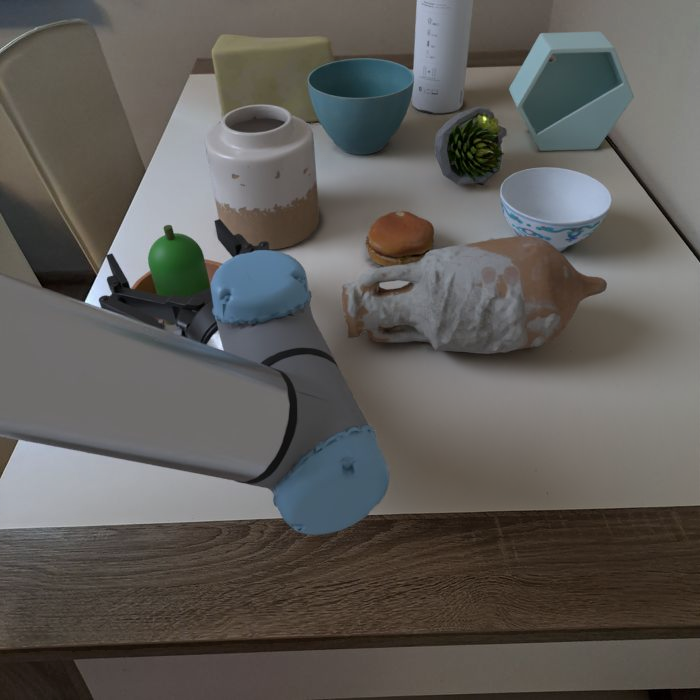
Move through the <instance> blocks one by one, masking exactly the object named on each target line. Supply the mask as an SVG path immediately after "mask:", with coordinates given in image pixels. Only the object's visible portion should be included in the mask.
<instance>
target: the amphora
mask: <svg viewBox="0 0 700 700" xmlns="http://www.w3.org/2000/svg"><path fill="white" fill-rule="evenodd" d="M396 281H400V282H408V283H407V284H405V285H403V286H401V287H396V288H395V287H394V288H383V287H381V286H380V284H381V283H388V282H396ZM607 287H608V282H607V281H606V280H605V279H604V278H602V277H599V276H588V275H586V274H583V273H581V272H580V271H578V270H577V269H576V268H575V267H574V266H573V264H572V263H571V262H570V261H569V260H568V259H567V257H566V256H565V255H563V253H562V252H561V251H560V252H559V251H558V250H557V249H556V248H555V247H554V246H552V245H551V244H550V243H548V242H546V241H545V240H543V239H540V238H537V237H531V236H520V237H519V236H509V237H499V238H493V237H489V238H488V239H487V240H482V241H476V242H470V243H465V244H457V245H451V246H445V247H441V248H434V249H431V250H430V251H429V252H427V253H426V254H425V256H424V257H423V258H422V259H421V260H420V261H418V262H414V263H409V264H404V265H393V266H387V267H384V266H382V267H372V268H369V269H368V270H366V271H365V272H363V273H362V274H361V275H360V277H359V279H358V280H356V281H354V282H351V283H344V284H343V285H342V287H341V288H342V293H341V302H342V309H343V310H342V311H343V313H344V319H345V321H344V322H345V325H346V327H347V338H348V339H358V338H360V336H361V334H362V333H364V332H366V333H367V334H368V336H369V337H370V339H371V340H372V341H373V342H376V343H410V342H420V343H422V342H423V343H428V344H430V345H431V346H432V348H433V349H434V350H435V351H436V352H440V351H444V352H457V353H460V352H461V353H462V352H463V353H471V354H487V355H488V354H498V353H509V352H512V351H515V350H522V349H528V348H529V349H530V348H534V347H538V348H539V347H540V346H542V345H545V344H547V343H550V342H551V341H553V340H555V339H556V338H557V337H558V336H559V335H560V334H561V333H562V332H563V331H564V330H565V328H566V327H567V325H568V324H569V322H570V321H571V320H572V318H573V317H574V314H575V312H576V311H577V309H578V307H579V305H580V303H581V302H582V301H583V300H584V299H586V298H589V297H592V296H597V295H599V294H601V293H604V292H606V290H607ZM390 325H392V326H390ZM393 325H394V326H393Z"/></svg>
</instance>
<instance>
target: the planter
mask: <svg viewBox="0 0 700 700" xmlns="http://www.w3.org/2000/svg"><path fill="white" fill-rule="evenodd" d="M617 52H618V51H617V49H616V48H615V46H614V45H613V44H612V42H611V41H610V40H609V39H608V38H607V37H606V35H605V34H604V33H603V32H602V31H598V30H597V31H568V32H564V31H563V32H541V33H539V35H538V36H537V38H536V40H535V42H534V44H533V45H532V47H531V49H530V50H529V52H528V54H527V56H526V57H525V60H524V62H523V63H522V65H521V67H520V69H518V72H517V74H516V76H515V77H514V79H513V81H512V83H511V85H510V86H509V88H508V91H509V93H510V95H511V97H512V100H513V102H514V104H515V107H516V109H517V111H518V112H519V114H520V116H521V118H522V120H523V122H524V125H526V127H527V129H528V132H529V133H530V135H531V137H532V139H533V141H534V142H535V145H536V146H537V148H538V150H539V151H540V152H547V151H548V152H549V151H550V152H551V151H586V150H589V151H590V150H597V149H599V148H600V146H601V145H602V143H603V142H604V141H605V138H607V136H608V134H609V133H610V132H611V130H612V129H613V127H614V126H615V125H616V124H617V122H618V121H619V120H620V118H621V117H622V115H623V114H624V112H625V111H626V109H627V108H628V106H629V105H630V103H631V102H632V100H633V99H634V98H635V96H634V93H633V90H632V87H631V85H630V82H629V79H628V78H627V75H626V73H625V70H624V67H623V65H622V62H621V60H620V58H619V55H618V53H617ZM552 56H555V59H554V60H552V61H550V59H551V57H552Z"/></svg>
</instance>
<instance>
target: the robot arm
mask: <svg viewBox="0 0 700 700" xmlns="http://www.w3.org/2000/svg"><path fill="white" fill-rule="evenodd" d="M214 226H215V231H216V236H217V240H218V241H219V242H220V244H221V245H222V246H223V247H224V249H225V250H226V251H227V252H228V254H229V255H230V256H231V257H230V258H229V259H227V260H226V261H224V262H223V263H222V265H221V266H220V267H219V268H218V269H217V271H216V272H215V274H214V276H213V278H212V281H211V287H210V288H207V289H206V290H204V291H202V292H197V293H193V294H190V295H188V297H184V296H179V295H174V294H173V295H171V296H170V297H168V296H163V295H158V294H154V293H149V292H144V291H139V290H135V289H131V288H132V287H131V285H130V282H129V280H128V279H127V277H126V275H125V273H124V272H123V270H122V268H121V267H120V265H119V262H118V261H117V259H116V257H115V255H114V254H113V253H112V252H111V253H108V254H106V255H105V257H106V260H107V263H108V265H109V268H110V270H111V274H112V275H110V276H107V277H106V282H107V285H108V289H109V291H110V292H111V294H110V295H105V294H104V295H101V296H100V297H99V298H98V302H99V305H100V306H97V305H94V304H91V303H89V302H86V301H82V300H80V299H77V298H74V297H71V296H69V295H66V294H63V293H60V292H57V291H54V290H51V289H48V288H45V287H43V286H40V285H37V284H34V283H31V282H29V281H25V280H23V279H20V278H17V277H14V276H11V275H10V274H9V275H8V274H6V273H3V272H0V437H1V438H7V439H12V440H16V441H17V440H18V441H22V442H28V443H33V444H38V445H43V446H47V447H48V446H49V447H54V448H58V449H59V448H60V449H65V450H70V451H76V452H80V453H85V454H92V455H97V456H102V457H107V458H112V459H117V460H123V461H127V462H134V463H139V464H144V465H149V466H156V467H159V468H165V469H171V470H175V471H180V472H187V473H191V474H196V475H201V476H207V477H212V478H217V479H223V480H228V481H234V482H236V483H240V484H246V485H250V486H253V487H258V488H265V489H268V490H270V492H272V496H273V497H272V502H273V505H274V507H276V508H277V509H278V511H279V514H280V516H281V517H282V519H283V521H284V522H285V523H286V525H288V526H289V527H291V528H292V529H293V530H294V531H296V532H297V533H299V534H304V535H309V536H310V535H311V536H321V535H328V534H333V533H336V532H339V531H342V530H345V529H348V528H349V527H352V526H353V525H355V524H357V523H358V522H360V521H361V520H363V519H365V518H366V517H367V516H369V515H370V514H371V512H372V511H373V509H375V508H376V507H377V506H378V505H379V504H380V503H381V502H382V501H383V499H384V497H385V496H386V494H387V491H388V489H389V485H390V470H389V466H388V464H387V462H386V461H387V460H386V459H385V456H384V454H383V452H382V450H381V447H380V445H379V442H378V440H377V434H376V431H375V429H374V427H372V426H371V425H370V424H369V423H368V421H367V418H366V417H365V415H364V413H363V411H362V409H361V408H360V406H359V403H358V402H357V400H356V398H355V396H354V394H353V392H352V390H351V389H350V387H349V384H348V383H347V381H346V379H345V377H344V374H343V373H342V372H341V369H340V367H339V365H338V364H337V361H336V359H335V357H334V356H333V354H332V352H331V349H330V347H329V346H328V344H327V342H326V340H325V337H324V335H323V334H322V332H321V330H320V328H319V326H318V324H317V323H316V321H315V319H314V315H313V313H312V307H311V299H312V292H311V290H310V289H309V283H308V278H307V273H306V270H305V268H304V266H303V265H302V264H301V262H299V260H297V259H296V258H294V257H293V256H291V255H290V254H287V253H284V252H281V251H278V250H270V249H269V243H268V242H266V241H262V242H260V243H259V245H258V246H253V245H252V244H250V243H248V242H247V241H246V239H245V238H244V237H243V236H242V235H241V234H236V235H233V234H232V233H231V232H230V230H229V229H228V228H227V227H226V226H225V224H224V223H223V222H222V221H221V220H220V219H219V218H218V219H216V220H214ZM180 307H181V309H180ZM154 317H155V318H159V319H164V320H168V321H170V322H171V323H172V324H173V325H168V324H166V323H164V321H163V320H159V321H157V320H156V319H155V318H154Z"/></svg>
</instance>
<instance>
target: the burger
mask: <svg viewBox="0 0 700 700" xmlns="http://www.w3.org/2000/svg"><path fill="white" fill-rule="evenodd" d="M434 236H435V228H434V225H433V224H432V222H430V220H427V219H425V218H422V217H420V216H418V215H415V214H414V213H412V212H410V211H406V210H402V211H399V210H397V211H394V212H393V211H391V212H389V213H386V214H384V215H382V216H380V217H379V218H378V219H376V220H375V221H374V222H373V223H372V224H371V226H370V228H369V231H368V234H367V236H366V237H365V238H366V239H365V246H366V248H367V251H368V254H369V256H370V257H369V258H370V259H371V260H372V262H373V263H375V264H377V265H380V266H382V267H387V266H393V265H404V264H409V263H414V262H418V261H420V260H421V259H422V258H423V257H424V256H425V254H426V253H427V252H429V251H431V250H433V246H434V245H433V243H434V242H435V238H434Z"/></svg>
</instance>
